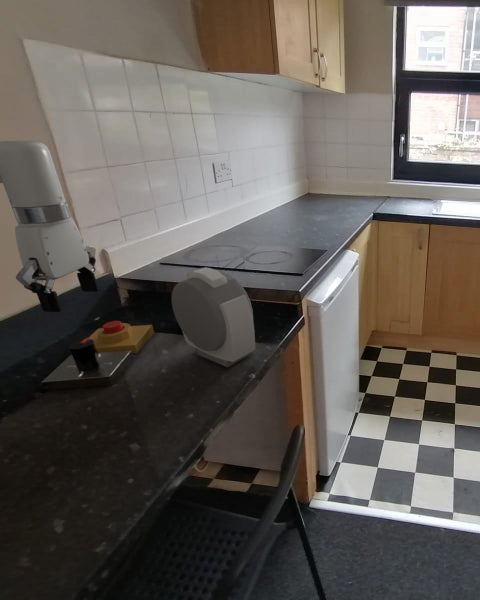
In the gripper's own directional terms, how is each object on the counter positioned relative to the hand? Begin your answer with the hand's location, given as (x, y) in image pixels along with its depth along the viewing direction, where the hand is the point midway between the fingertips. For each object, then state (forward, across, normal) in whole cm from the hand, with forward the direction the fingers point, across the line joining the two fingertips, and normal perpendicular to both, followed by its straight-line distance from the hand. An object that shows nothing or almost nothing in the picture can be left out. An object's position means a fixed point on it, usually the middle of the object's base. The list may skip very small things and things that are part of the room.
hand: (73, 300), depth 79 cm
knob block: (+16, -10, -2) cm, 18 cm away
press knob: (+12, -10, -2) cm, 15 cm away
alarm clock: (+16, -6, +25) cm, 30 cm away
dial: (+14, +2, +1) cm, 14 cm away
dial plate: (+16, +2, +1) cm, 16 cm away
